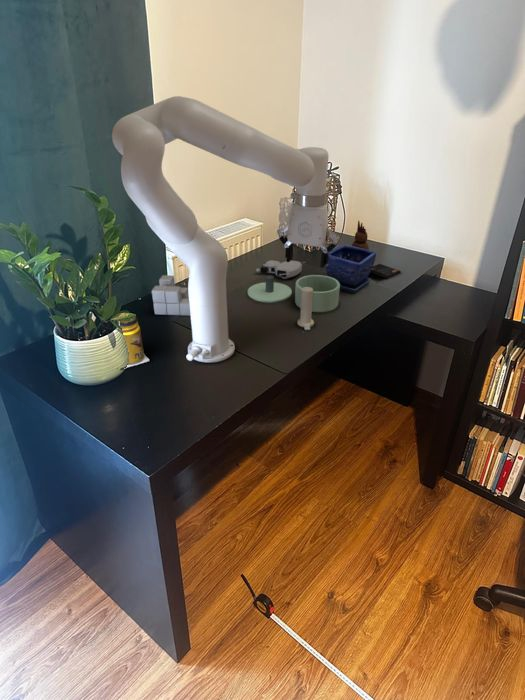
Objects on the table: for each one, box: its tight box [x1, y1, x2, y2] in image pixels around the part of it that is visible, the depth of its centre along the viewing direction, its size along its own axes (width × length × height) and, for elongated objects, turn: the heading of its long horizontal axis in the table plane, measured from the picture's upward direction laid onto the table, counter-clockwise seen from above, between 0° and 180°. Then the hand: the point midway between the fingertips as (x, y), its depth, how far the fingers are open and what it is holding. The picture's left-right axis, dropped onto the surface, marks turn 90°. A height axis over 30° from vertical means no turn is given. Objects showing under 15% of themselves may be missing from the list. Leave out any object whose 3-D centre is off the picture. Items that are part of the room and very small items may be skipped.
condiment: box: [120, 315, 150, 369], centre depth 127 cm, size 7×8×12 cm
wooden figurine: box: [351, 220, 370, 261], centre depth 186 cm, size 7×6×15 cm
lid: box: [247, 275, 293, 303], centre depth 162 cm, size 15×15×6 cm
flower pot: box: [324, 244, 377, 294], centre depth 166 cm, size 13×13×12 cm
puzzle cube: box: [151, 274, 191, 317], centre depth 154 cm, size 12×12×8 cm
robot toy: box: [255, 259, 306, 280], centre depth 177 cm, size 12×4×15 cm
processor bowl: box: [294, 274, 341, 313], centre depth 156 cm, size 14×14×7 cm
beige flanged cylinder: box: [296, 287, 315, 331], centre depth 143 cm, size 9×5×12 cm, turn 3°
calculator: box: [370, 263, 401, 279], centre depth 178 cm, size 9×12×3 cm
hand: (306, 263), depth 135 cm, fingers open, 9 cm apart
